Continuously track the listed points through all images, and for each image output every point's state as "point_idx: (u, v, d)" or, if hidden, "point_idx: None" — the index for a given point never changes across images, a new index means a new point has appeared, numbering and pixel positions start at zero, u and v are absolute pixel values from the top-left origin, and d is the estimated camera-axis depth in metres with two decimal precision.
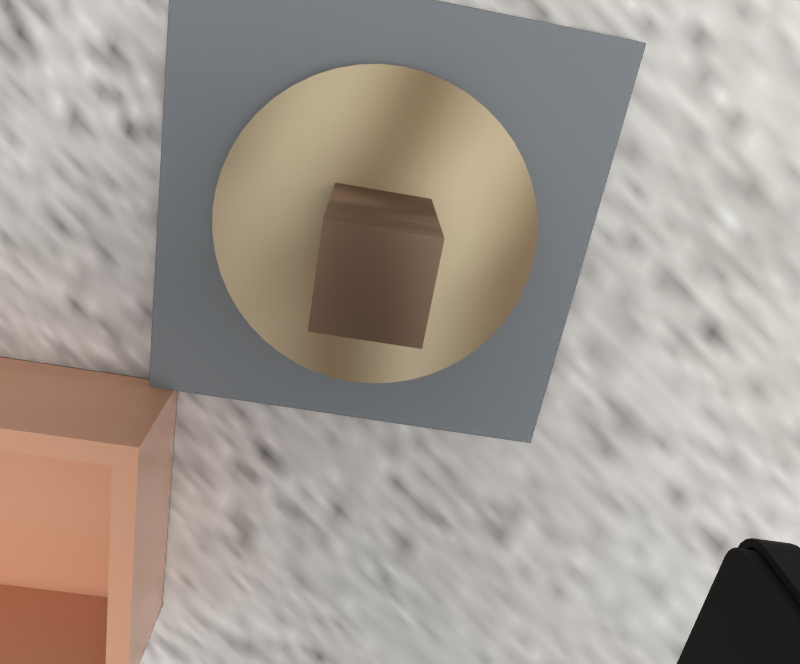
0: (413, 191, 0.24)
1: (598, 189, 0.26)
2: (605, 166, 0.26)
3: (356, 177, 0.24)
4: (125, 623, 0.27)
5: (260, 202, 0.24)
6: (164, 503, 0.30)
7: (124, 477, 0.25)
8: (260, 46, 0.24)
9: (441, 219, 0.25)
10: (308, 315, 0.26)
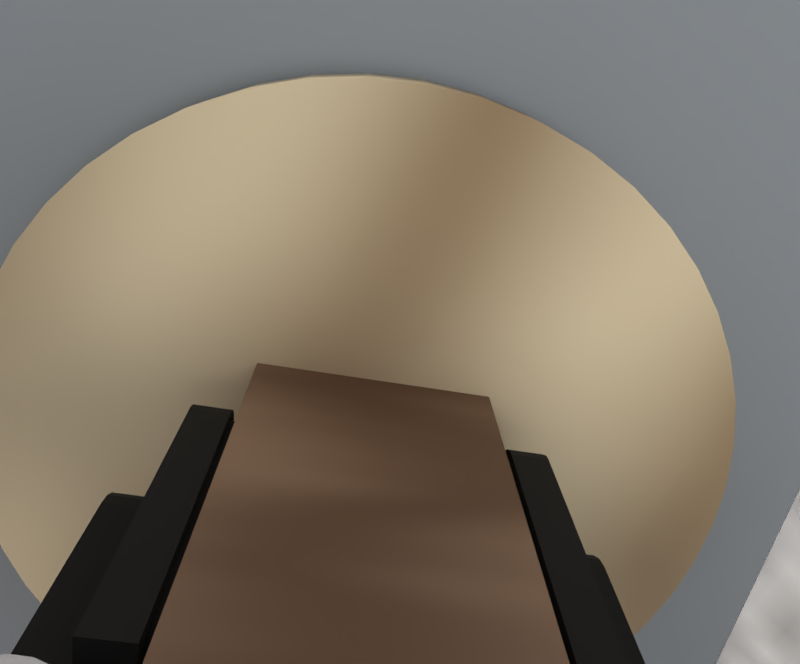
0: (446, 380, 0.10)
1: None
2: None
3: (309, 352, 0.10)
4: None
5: (77, 408, 0.10)
6: None
7: None
8: (59, 24, 0.09)
9: (510, 439, 0.11)
10: None
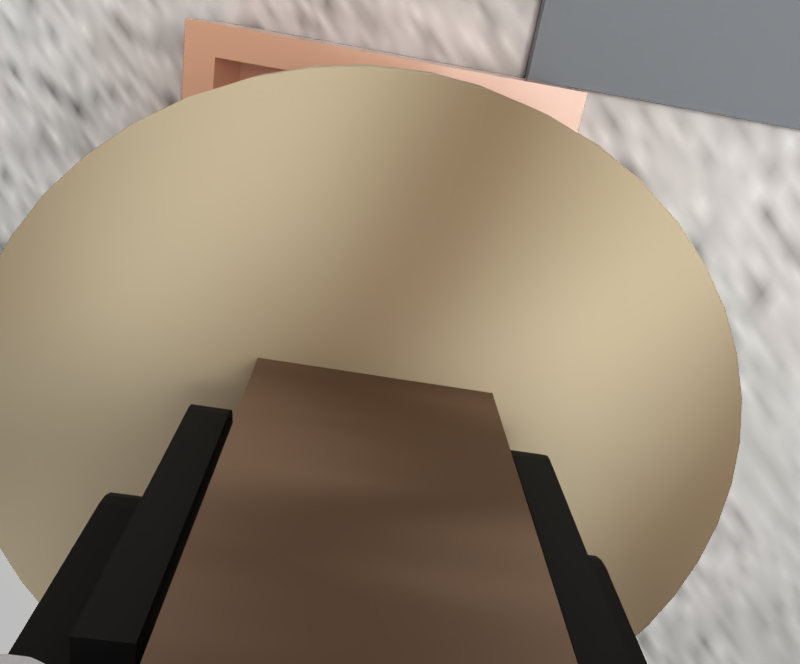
0: (448, 376, 0.10)
1: None
2: None
3: (310, 347, 0.10)
4: None
5: (76, 402, 0.10)
6: None
7: None
8: None
9: (513, 436, 0.10)
10: None
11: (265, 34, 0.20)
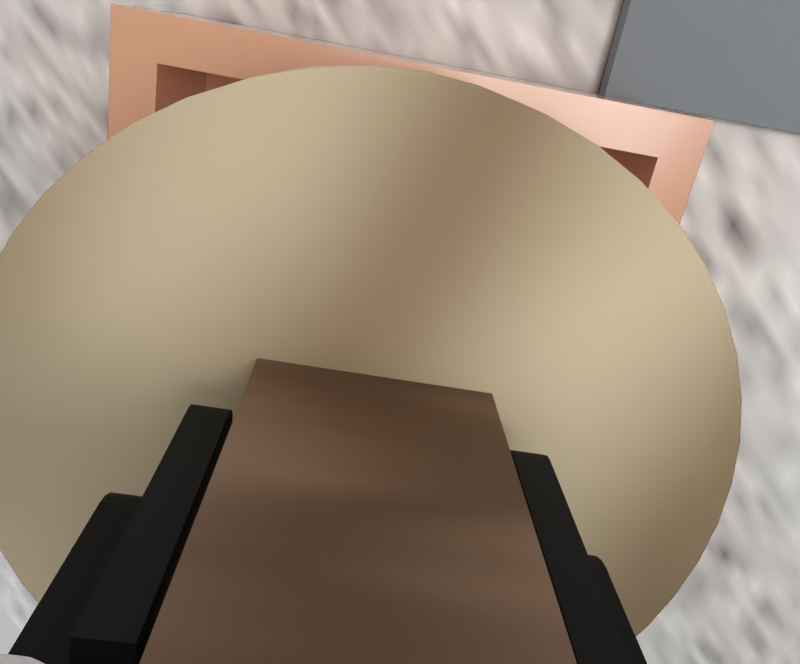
0: (448, 376, 0.10)
1: None
2: None
3: (310, 347, 0.10)
4: None
5: (75, 403, 0.10)
6: None
7: (672, 181, 0.15)
8: None
9: (513, 436, 0.10)
10: None
11: (233, 29, 0.13)
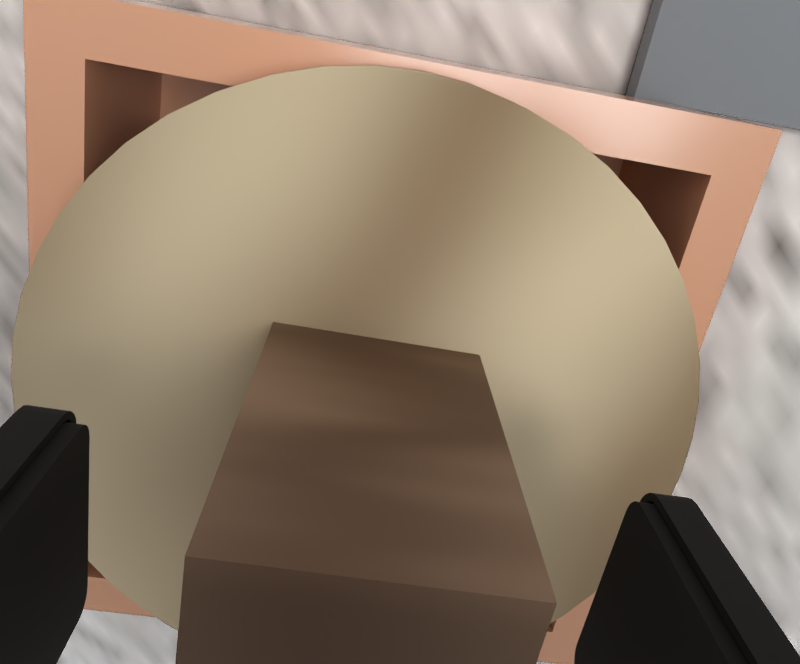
0: (441, 339, 0.11)
1: None
2: None
3: (319, 312, 0.11)
4: None
5: (112, 361, 0.11)
6: None
7: (727, 204, 0.12)
8: None
9: (498, 393, 0.12)
10: None
11: (179, 15, 0.11)
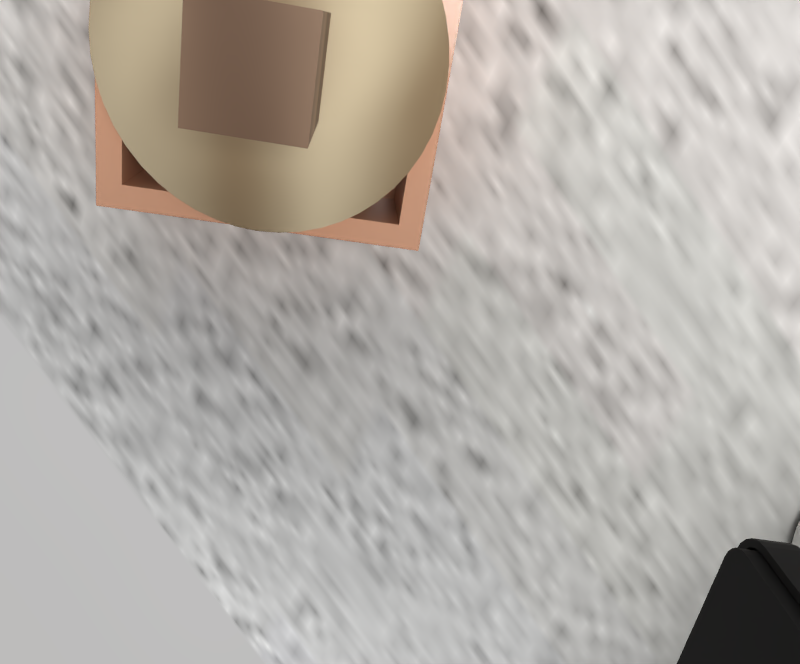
0: (310, 3, 0.22)
1: None
2: None
3: None
4: (431, 148, 0.26)
5: (141, 18, 0.22)
6: None
7: None
8: None
9: (343, 37, 0.23)
10: (204, 153, 0.24)
11: None
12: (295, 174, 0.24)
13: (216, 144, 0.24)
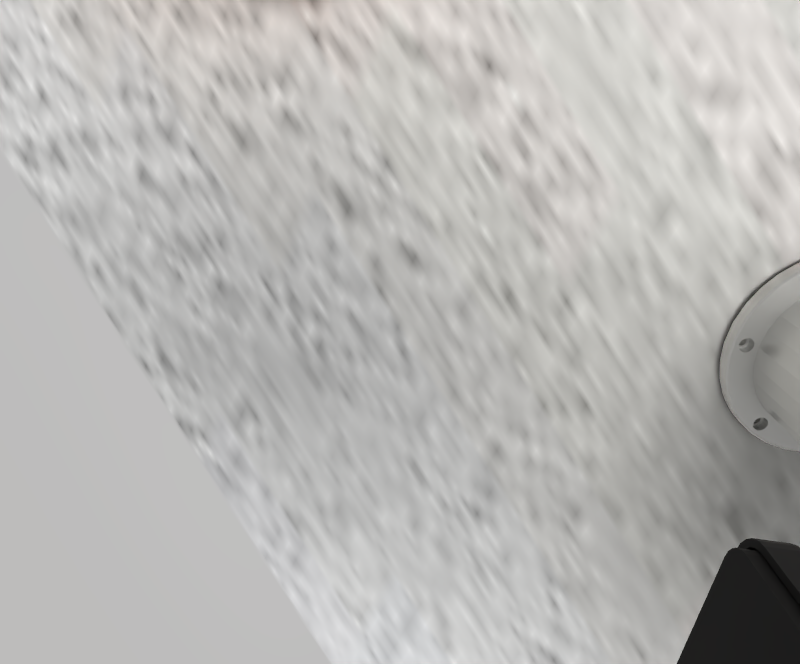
0: None
1: None
2: None
3: None
4: None
5: None
6: None
7: None
8: None
9: None
10: None
11: None
12: None
13: None
